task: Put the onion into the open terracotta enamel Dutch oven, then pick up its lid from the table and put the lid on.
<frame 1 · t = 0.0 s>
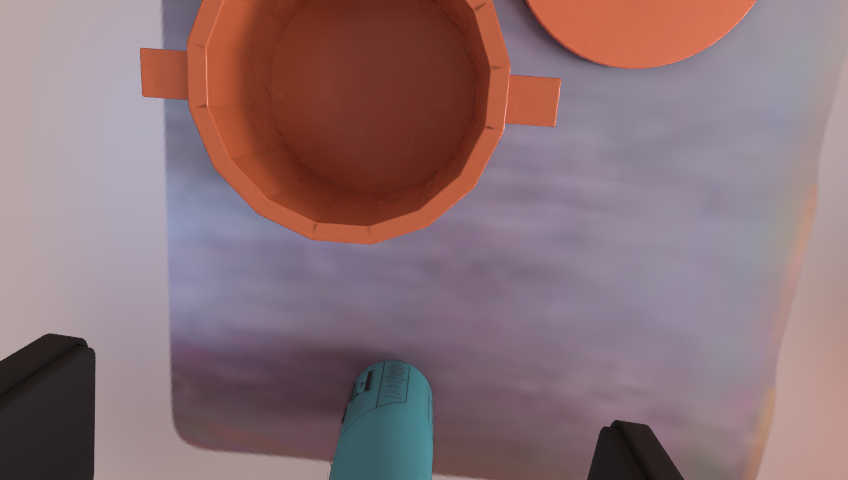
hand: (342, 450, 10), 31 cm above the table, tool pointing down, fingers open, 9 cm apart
beverage bottle: (394, 384, 44), on the table
dutch oven: (372, 91, 39), on the table
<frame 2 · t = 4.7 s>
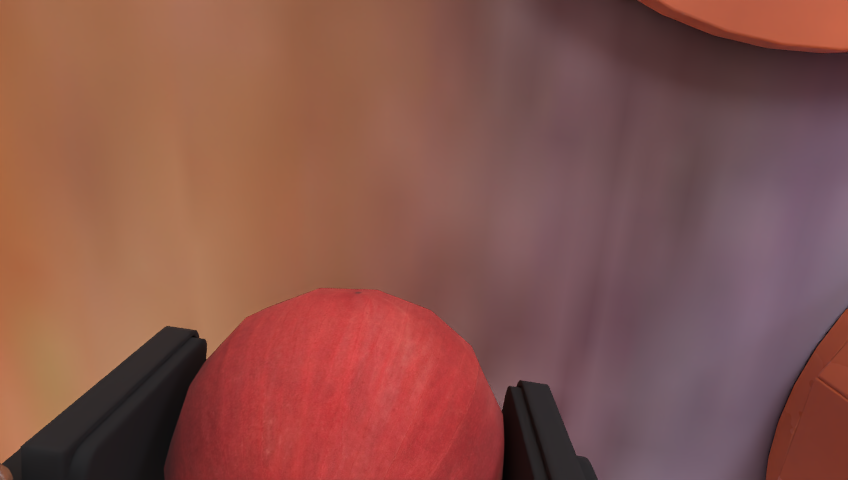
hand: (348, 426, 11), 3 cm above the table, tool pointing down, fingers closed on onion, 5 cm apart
onion: (368, 354, 14), on the table, touching gripper
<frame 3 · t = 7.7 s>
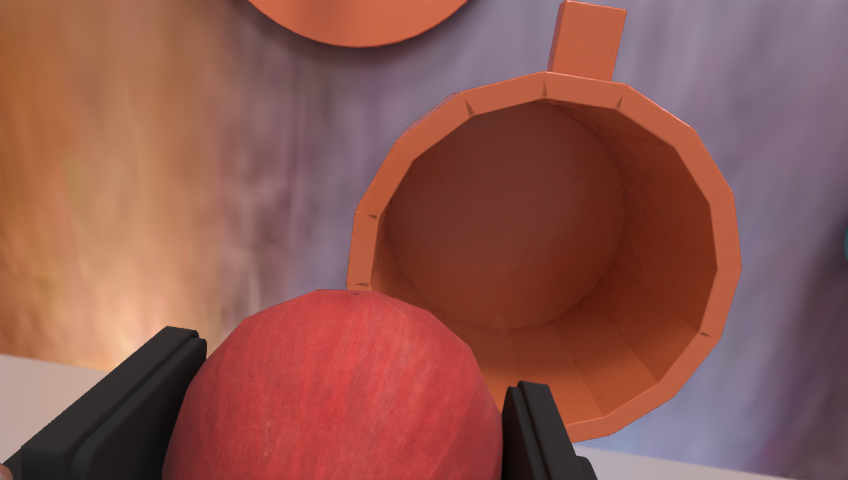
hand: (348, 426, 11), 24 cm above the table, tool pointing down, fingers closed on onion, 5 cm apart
onion: (367, 355, 14), point 21 cm above the table, touching gripper
dutch oven: (505, 218, 34), on the table
when the fingers open (13 cm above the table, at t = 11.1 s): onion drops 8 cm, resting on dutch oven.
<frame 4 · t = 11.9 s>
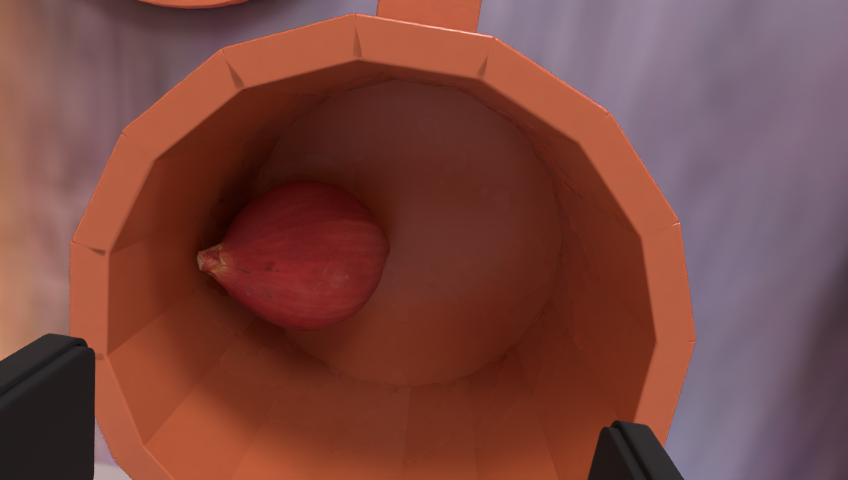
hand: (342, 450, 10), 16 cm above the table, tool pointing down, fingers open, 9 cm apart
onion: (388, 247, 24), point 1 cm above the table, touching dutch oven
dutch oven: (404, 241, 26), on the table
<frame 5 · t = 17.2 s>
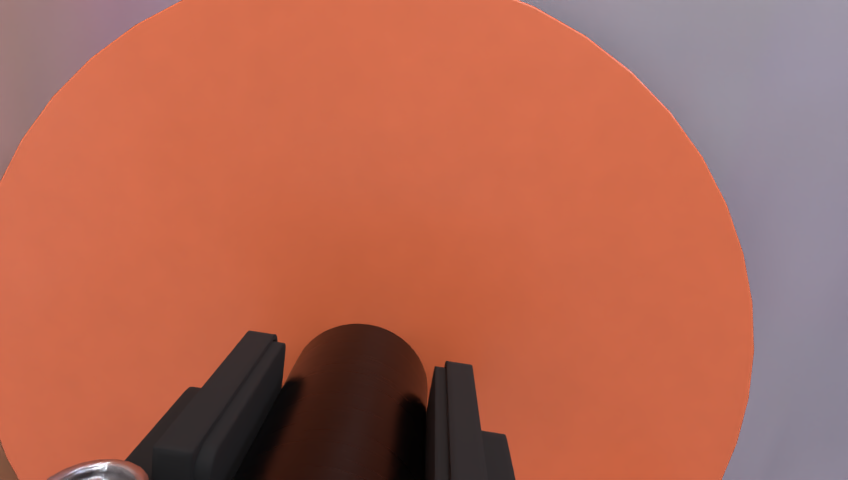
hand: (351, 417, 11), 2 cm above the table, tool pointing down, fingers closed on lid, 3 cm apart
lid: (363, 372, 13), point 1 cm above the table, touching gripper
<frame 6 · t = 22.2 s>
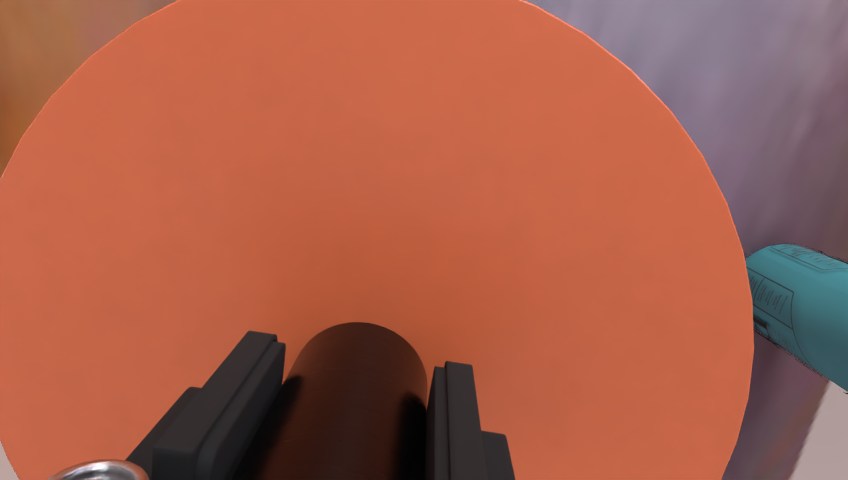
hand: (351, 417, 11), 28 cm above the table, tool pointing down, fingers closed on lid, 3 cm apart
lid: (363, 371, 13), point 26 cm above the table, touching gripper
beverage bottle: (761, 277, 39), on the table
when the fingers open (13 cm above the table, at t = 27.1 s): lid stays where it is, resting on dutch oven.
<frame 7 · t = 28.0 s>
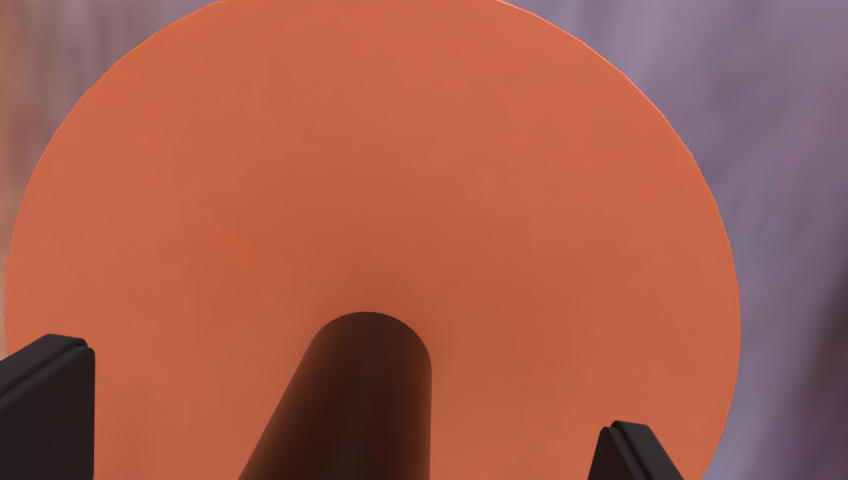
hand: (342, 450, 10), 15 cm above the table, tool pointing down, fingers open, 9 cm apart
lid: (371, 359, 14), point 12 cm above the table, touching dutch oven
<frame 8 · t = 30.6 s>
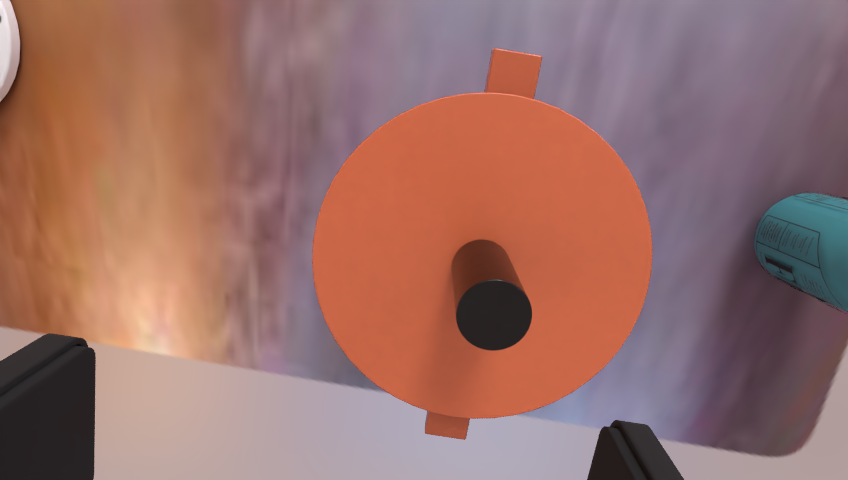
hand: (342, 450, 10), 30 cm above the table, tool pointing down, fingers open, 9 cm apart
lid: (480, 264, 29), point 12 cm above the table, touching dutch oven
beverage bottle: (783, 230, 40), on the table
dutch oven: (467, 219, 40), on the table
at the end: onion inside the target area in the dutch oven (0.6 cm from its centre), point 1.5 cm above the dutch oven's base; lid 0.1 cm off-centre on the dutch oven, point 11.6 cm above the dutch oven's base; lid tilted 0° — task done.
